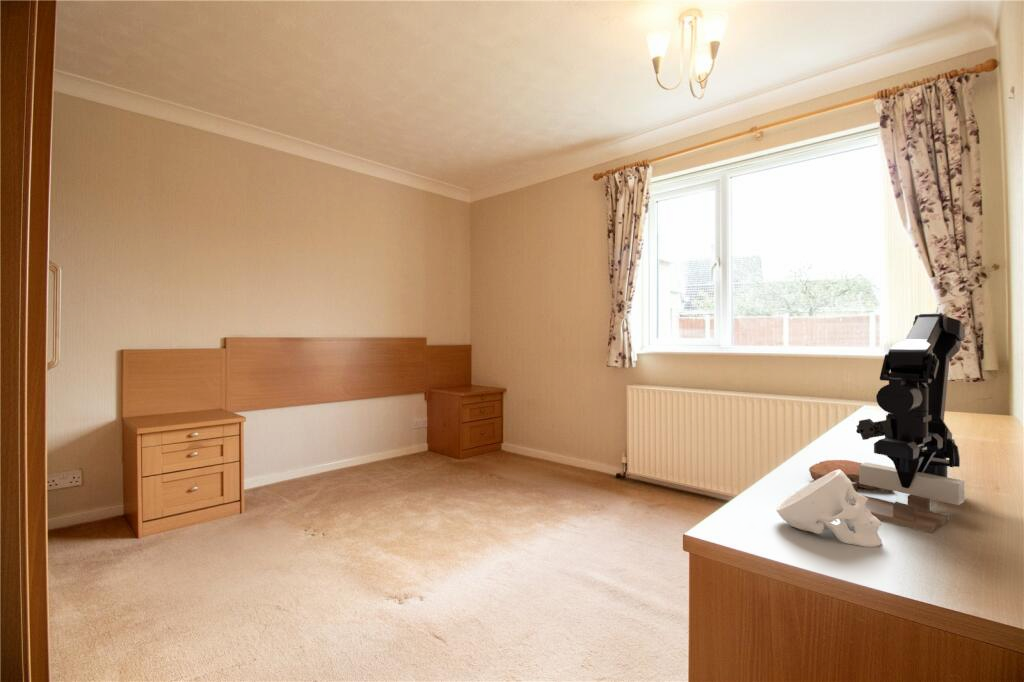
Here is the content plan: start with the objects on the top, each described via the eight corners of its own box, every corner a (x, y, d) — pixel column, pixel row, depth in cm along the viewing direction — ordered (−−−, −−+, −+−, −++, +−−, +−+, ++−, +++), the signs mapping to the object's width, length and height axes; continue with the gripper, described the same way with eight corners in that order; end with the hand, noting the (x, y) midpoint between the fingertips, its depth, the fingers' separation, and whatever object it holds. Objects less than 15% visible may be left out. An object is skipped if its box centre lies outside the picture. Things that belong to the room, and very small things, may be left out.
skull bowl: (895, 550, 73) (843, 475, 77) (805, 574, 80) (763, 504, 85) (897, 528, 81) (850, 461, 85) (815, 552, 88) (776, 489, 93)
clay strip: (865, 480, 104) (865, 462, 104) (964, 501, 91) (964, 480, 91) (859, 483, 102) (859, 464, 102) (958, 505, 89) (958, 483, 89)
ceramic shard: (797, 450, 122) (862, 462, 119) (794, 475, 122) (860, 488, 118) (823, 457, 108) (898, 470, 105) (820, 485, 107) (895, 500, 104)
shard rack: (828, 491, 105) (828, 476, 105) (948, 520, 88) (948, 502, 88) (807, 500, 99) (807, 483, 99) (930, 533, 83) (930, 513, 83)
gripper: (879, 401, 108) (879, 469, 108) (844, 408, 98) (843, 483, 98) (943, 407, 99) (943, 482, 99) (912, 415, 88) (911, 499, 88)
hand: (908, 486), depth 96 cm, fingers closed on clay strip, 3 cm apart
